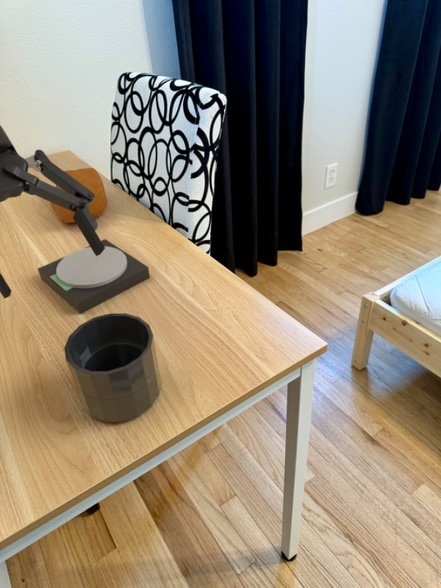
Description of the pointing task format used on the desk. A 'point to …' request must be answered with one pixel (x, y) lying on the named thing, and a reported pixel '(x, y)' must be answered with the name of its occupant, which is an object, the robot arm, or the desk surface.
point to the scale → (93, 275)
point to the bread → (91, 182)
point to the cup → (114, 366)
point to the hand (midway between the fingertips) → (57, 272)
